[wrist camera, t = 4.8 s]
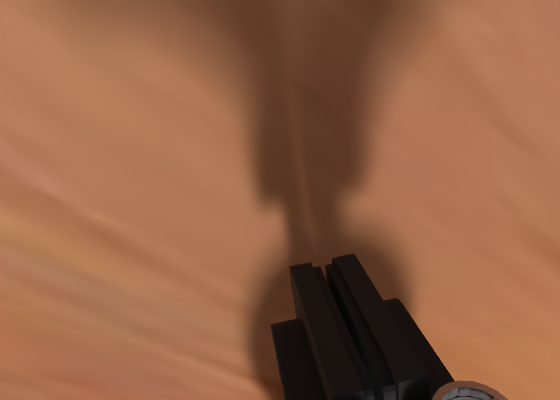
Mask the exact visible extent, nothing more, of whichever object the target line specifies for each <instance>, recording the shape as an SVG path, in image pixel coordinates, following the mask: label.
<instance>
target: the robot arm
mask: <svg viewBox="0 0 560 400" xmlns="http://www.w3.org/2000/svg"><path fill="white" fill-rule="evenodd" d="M325 268H326V278H325V276H324V274H323V272H322V269H321V267H320V266H318V267H313V266H312V264H311V263H310V262H309V263H304V264H299V265H294V266H290V276H291V283H292V290H293V297H294V304H295V310H296V317H297V319H294V320H289V321H285V322H280V323H275V324H271V329H272V335H273V340H274V346H275V351H276V357H277V362H278V368H279V373H280V378H281V383H282V389H283V394H284V399H285V400H508V399H507V398H505V397H504V396H503V395H502V394H500V393H499V392H498V391H496V390H494V389H492V388H490V387H488V386H486V385H484V384H481V383H477V382H473V381H454V379H453V378H452V376H451V375H450V373H449V372H448V370H447V369H446V367H445V366H444V365H443V363H442V362H441V360H440V359H439V357H438V356H437V354H436V353H435V351H434V350H433V348H432V347H431V345H430V344H429V342H428V341H427V339H426V338H425V336H424V335H423V334H422V332H421V331H420V329H419V328H418V326H417V325H416V323H415V322H414V320H413V319H412V317H411V316H410V314H409V313H408V311H407V310H406V308H405V307H404V305H403V304H402V303H401V302H400V300H399V299H397V298H394V299H389V300H384V301H383V300H382V298H381V296H380V295H379V293H378V291H377V290H376V288H375V287H374V285H373V283H372V282H371V280H370V278H369V277H368V275H367V274H366V272H365V270H364V269H363V267H362V265H361V264H360V262H359V261H358V259H357V257H356V256H355V255H354V254H350V255H344V256H339V257H334V258H332V264H328V265H326V267H325ZM326 279H327V281H326Z"/></svg>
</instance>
